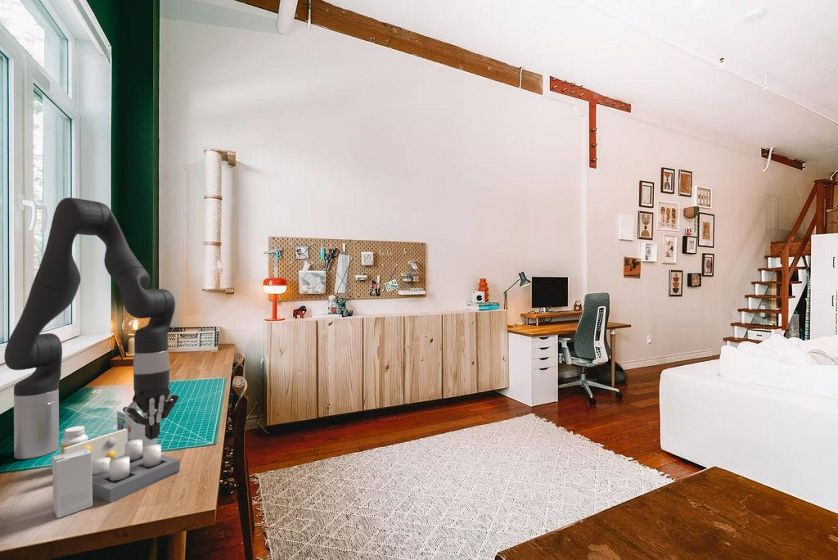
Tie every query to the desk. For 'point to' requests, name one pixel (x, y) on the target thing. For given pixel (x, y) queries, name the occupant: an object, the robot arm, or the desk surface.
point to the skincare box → (72, 482)
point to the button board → (133, 479)
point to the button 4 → (151, 455)
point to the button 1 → (100, 466)
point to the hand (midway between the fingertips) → (152, 438)
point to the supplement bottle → (73, 437)
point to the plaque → (104, 445)
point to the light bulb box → (133, 428)
